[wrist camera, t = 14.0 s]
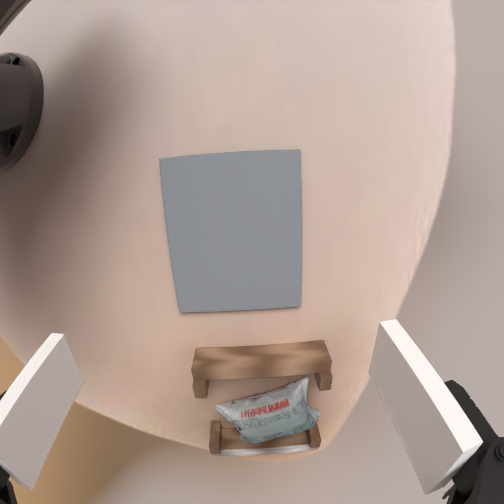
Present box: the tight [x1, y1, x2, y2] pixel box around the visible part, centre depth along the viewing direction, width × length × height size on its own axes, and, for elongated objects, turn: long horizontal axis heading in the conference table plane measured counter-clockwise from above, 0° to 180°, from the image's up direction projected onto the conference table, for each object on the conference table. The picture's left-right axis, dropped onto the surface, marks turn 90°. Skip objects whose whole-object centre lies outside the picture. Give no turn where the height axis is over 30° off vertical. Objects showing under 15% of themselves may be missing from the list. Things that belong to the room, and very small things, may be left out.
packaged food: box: [216, 377, 320, 444], centre depth 34 cm, size 9×12×5 cm
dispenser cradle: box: [191, 340, 332, 456], centre depth 34 cm, size 15×18×5 cm
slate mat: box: [159, 150, 302, 313], centre depth 29 cm, size 13×16×1 cm
